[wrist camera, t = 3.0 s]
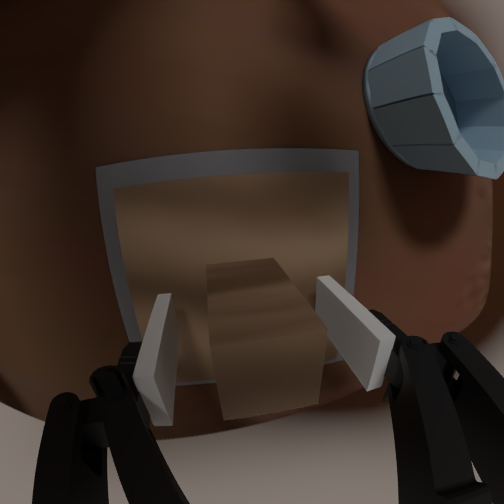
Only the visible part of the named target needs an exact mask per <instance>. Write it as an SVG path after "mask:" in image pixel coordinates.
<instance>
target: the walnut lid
mask: <svg viewBox="0 0 504 504" xmlns="http://www.w3.org/2000/svg"><path fill="white" fill-rule="evenodd" d="M113 196H114V205H115V213H116V221H117V227H118V234H119V240H120V246H121V252H122V257H123V263H124V268H125V273H126V277H127V282H128V287H129V291H130V295H131V299H132V303H133V308H134V311H135V315H136V319H137V323H138V326H139V330H140V333H141V337H142V340H143V338H144V335H145V332H146V329H147V326H148V322H149V319H150V316H151V313H152V310H153V307H154V304H155V301H156V298H157V295H158V294H167V293H172V298H173V304H174V309H175V314H176V319H177V324H178V329H179V333H180V341H179V350H178V360H177V371H176V382H193V381H205V380H216V385H217V390H218V395H219V400H220V405H221V410H222V415H223V419H224V420H232V419H240V418H247V417H254V416H261V415H267V414H272V413H278V412H283V411H288V410H293V409H297V408H302V407H306V406H310V405H314V404H318V400H319V394H320V388H321V381H322V374H323V366H324V362H325V361H329V360H333V359H336V358H337V352H338V350H337V349H336V347H335V346H334V345H333V343H332V342H331V340H330V339H329V338H328V336H327V331H328V328H327V327H326V325H325V324H324V323H323V321H322V320H321V319H320V318H319V316H318V315H317V314H316V312H315V306H316V285H317V277H319V276H327V275H329V276H330V277H332V278H333V279H334V280H335V281H336V282H337V283H338V284H339V285H341V286H342V287H343V288H344V289H345V281H346V267H347V251H348V226H349V172H271V173H250V174H234V175H220V176H208V177H197V178H187V179H177V180H169V181H160V182H153V183H145V184H138V185H131V186H125V187H119V188H114V189H113Z"/></svg>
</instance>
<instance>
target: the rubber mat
mask: <svg viewBox="0 0 504 504" xmlns="http://www.w3.org/2000/svg"><path fill="white" fill-rule="evenodd" d="M271 172H349V226H348V251H347V267H346V281H345V290H346V291H347V292H348V293H349V294H351V295H352V296H353V295H354V285H355V274H356V262H357V247H358V225H359V155H358V150H342V149H317V148H263V149H238V150H221V151H208V152H196V153H186V154H177V155H169V156H161V157H153V158H146V159H140V160H133V161H127V162H121V163H116V164H110V165H105V166H100V167H96V180H97V190H98V199H99V208H100V215H101V222H102V229H103V235H104V241H105V246H106V252H107V257H108V262H109V267H110V271H111V276H112V280H113V285H114V289H115V293H116V297H117V301H118V305H119V308H120V312H121V315H122V319H123V322H124V326H125V329H126V332H127V336H128V339H129V342H143V340H142V337H141V333H140V330H139V326H138V323H137V319H136V315H135V311H134V308H133V303H132V299H131V295H130V291H129V287H128V282H127V277H126V273H125V268H124V263H123V257H122V252H121V246H120V240H119V234H118V227H117V221H116V213H115V205H114V196H113V189H114V188H119V187H125V186H131V185H138V184H145V183H153V182H160V181H169V180H177V179H187V178H197V177H208V176H220V175H234V174H250V173H271ZM342 360H344V358H343V357H342V356H341V354H340V353H339V352H337V358H336V359H333V360H329V361H325V362H324V365H325V364H330V363H334V362H338V361H342ZM208 383H216V380H205V381H193V382H176V383H175V386H181V385H196V384H208Z"/></svg>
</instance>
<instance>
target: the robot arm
mask: <svg viewBox="0 0 504 504" xmlns="http://www.w3.org/2000/svg"><path fill="white" fill-rule="evenodd" d="M315 312H316V314H317V315H318V316H319V318H320V319H321V320H322V321H323V323H324V324H325V325H326V327H327V328H328V331H327V336H328V338H329V339H330V340H331V342H332V343H333V345H334V346H335V347H336V349H337V350H338V352H339V353H340V354H341V356H342V357H343V358H344V360H345V361H346V363H347V364H348V365H349V367H350V368H351V370H352V371H353V373H354V374H355V375H356V377H357V378H358V380H359V381H360V382H361V384H362V385H363V387H364V388H365V389H366V391H369V390H372V389H375V388H378V387H380V386H382V383H383V380H384V376H385V377H386V378H387V380H388V381H389V383H388V386H387V389H386V392H385V395H384V397H383V401H386V398H387V396H388V398H389V404H390V410H391V417H392V424H393V431H394V440H395V450H396V461H397V474H398V496H399V504H492V502H493V504H504V378H503V377H502V375H500V373H499V372H498V371H497V370H496V369H495V368H494V367H493V366H492V365H491V363H490V362H489V361H488V360H487V359H486V358H485V357H484V356H483V355H482V354H481V353H480V352H479V351H478V350H477V349H476V348H475V347H474V346H473V345H472V344H471V343H470V342H469V341H468V340H467V339H466V338H465V337H464V336H463V335H461V334H459V333H457V332H447V333H445V334H444V335H443V336H442V339H441V342H440V343H431V344H429V343H428V342H427V341H426V340H425V339H423V338H421V337H418V336H407V335H406V334H405V333H403V332H402V331H401V330H400V329H399V328H398V327H397V326H396V325H394V324H392V322H391V321H390V320H389V319H388V318H387V317H385V316H384V315H383V314H382V313H380V312H378V311H376V310H373V309H372V310H367V309H366V308H365V307H364V306H363V305H362V304H361V303H359V302H358V301H357V300H356V299H355V298H354V297H353V296H352V295H351V294H349V293H348V292H347V291H346V290H345V289H344V288H343V287H342V286H341V285H339V284H338V283H337V282H336V281H335V280H334V279H333V278H332V277H330V276H329V275H327V276H319V277H317V285H316V306H315ZM179 341H180V333H179V329H178V324H177V319H176V314H175V309H174V304H173V298H172V293H167V294H158V295H157V298H156V301H155V304H154V307H153V310H152V313H151V316H150V319H149V322H148V326H147V329H146V332H145V335H144V338H143V342H130V343H129V344H128V345H127V346H126V347H125V348H124V349H123V351H122V354H121V358H120V359H119V362H118V363H119V364H118V365H117V366H112V365H110V366H103V367H101V368H98V369H97V370H96V371H94V372H93V373H92V375H91V376H90V380H89V382H90V384H91V386H92V388H93V390H94V392H95V394H96V396H97V397H96V398H93V399H87V400H82V401H80V400H79V398H78V397H77V395H75V394H73V393H70V392H65V393H61V394H59V395H57V396H56V397H55V398H54V399H52V401H51V403H50V406H49V410H48V414H47V417H46V421H45V426H44V430H43V435H42V439H41V443H40V449H39V454H38V459H37V466H36V472H35V479H34V489H33V498H32V504H109V499H108V483H107V482H108V481H107V447H110V450H111V454H112V457H113V460H114V464H115V467H116V470H117V473H118V476H119V479H120V482H121V484H122V487H123V490H124V492H125V495H126V497H127V500H128V502H129V504H190V503H189V502H188V500H187V499H186V497H185V495H184V494H183V492H182V490H181V488H180V487H179V485H178V484H177V481H176V480H175V478H174V476H173V474H172V472H171V470H170V468H169V467H168V465H167V463H166V461H165V459H164V457H163V455H162V453H161V451H160V449H159V447H158V444H157V442H156V440H155V438H154V436H153V433H152V431H151V429H150V427H149V424H150V419H151V421H152V423H153V425H154V426H173V412H174V396H175V383H176V371H177V360H178V350H179ZM456 371H457V372H458V373H459V374H460V375H459V377H458V379H457V380H456V379H454V374H455V372H456ZM471 461H472V463H473V465H474V467H475V469H476V471H477V473H478V474H479V477H480V478H481V480H482V482H477V481H476V479H475V476H474V472H473V468H472V463H471Z"/></svg>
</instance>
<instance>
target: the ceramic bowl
mask: <svg viewBox="0 0 504 504" xmlns="http://www.w3.org/2000/svg"><path fill="white" fill-rule="evenodd" d="M362 90H363V97H364V103H365V106H366V110H367V113H368V116H369V118H370V121H371V123H372V125H373V127H374V129H375V131H376V133H377V135H378V136H379V138H380V139H381V141H382V142H383V144H384V145H385V146H386V148H387V149H388V150H389V151H390V152H391V153H392V154H393V155H394V156H395V157H396V158H397V159H399V160H400V161H401V162H402V163H404V164H406V165H408V166H410V167H413V168H415V169H420V170H431V171H439V172H448V173H457V174H465V175H472V176H479V177H485V178H491V179H498V178H499V176H500V175H501V174H502V173H503V171H504V80H503V77H502V75H501V72H500V70H499V68H498V65H497V63H496V62H495V60H494V59H493V57H492V56H491V54H490V53H489V52H488V50H487V49H486V47H485V46H484V45H483V43H482V42H481V41H480V40H479V38H478V37H477V36H476V35H475V34H474V33H473V32H472V31H470V30H469V29H468V28H466V27H465V26H463V25H462V24H460V23H459V22H457V21H456V20H454V19H452V18H450V17H447V18H437V19H431V20H428V21H426V22H424V23H422V24H420V25H418V26H416V27H414V28H412V29H410V30H408V31H406V32H404V33H402V34H400V35H398V36H396V37H394V38H393V39H391V40H389V41H387V42H385V43H383V44H382V45H380V46H379V47H378V49H377V50H375V51H374V52H373V53H372V54H371V55H370V56H369V58H368V60H367V61H366V64H365V67H364V71H363V77H362Z"/></svg>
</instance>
